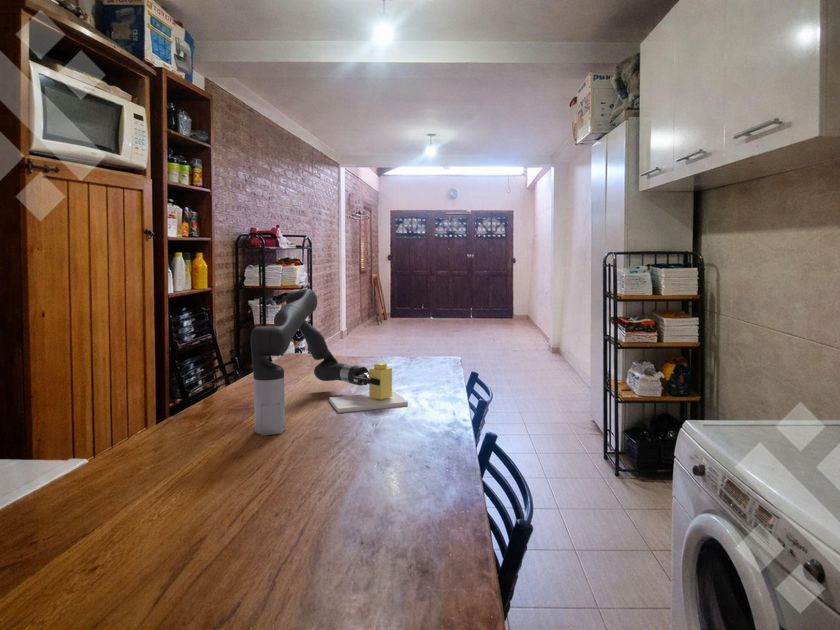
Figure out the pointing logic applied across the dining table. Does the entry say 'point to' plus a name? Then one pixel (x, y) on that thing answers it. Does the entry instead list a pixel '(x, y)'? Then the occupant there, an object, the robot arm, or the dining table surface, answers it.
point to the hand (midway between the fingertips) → (385, 380)
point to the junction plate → (365, 402)
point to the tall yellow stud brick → (381, 381)
